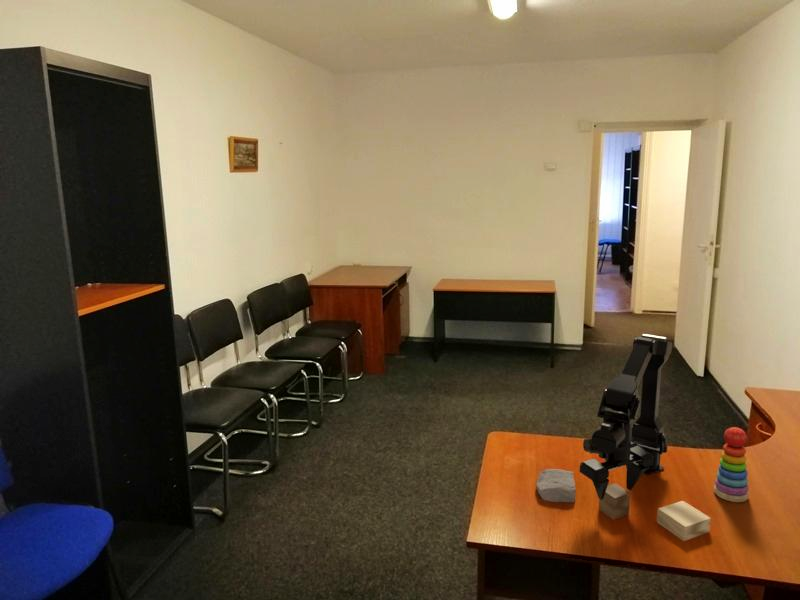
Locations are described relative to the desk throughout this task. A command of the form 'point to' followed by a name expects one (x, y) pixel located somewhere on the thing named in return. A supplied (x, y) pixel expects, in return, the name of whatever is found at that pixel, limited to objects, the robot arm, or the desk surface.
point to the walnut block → (615, 502)
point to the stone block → (556, 485)
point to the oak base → (683, 520)
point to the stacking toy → (733, 468)
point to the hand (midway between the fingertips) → (614, 494)
